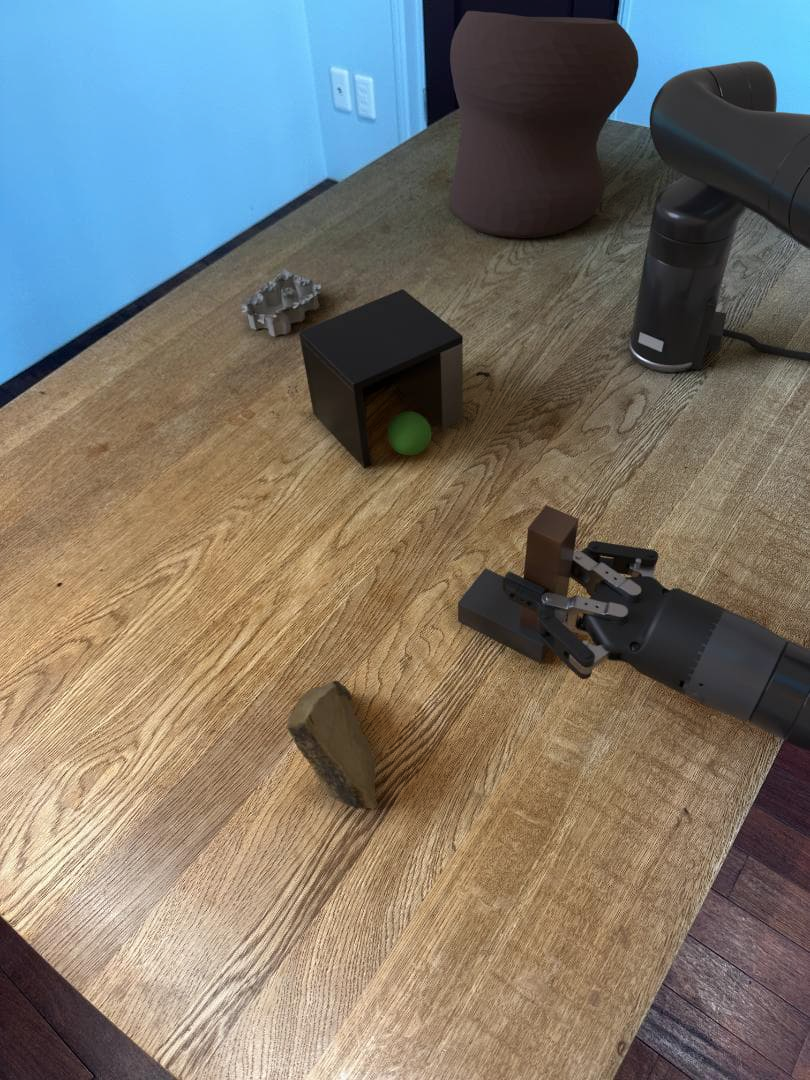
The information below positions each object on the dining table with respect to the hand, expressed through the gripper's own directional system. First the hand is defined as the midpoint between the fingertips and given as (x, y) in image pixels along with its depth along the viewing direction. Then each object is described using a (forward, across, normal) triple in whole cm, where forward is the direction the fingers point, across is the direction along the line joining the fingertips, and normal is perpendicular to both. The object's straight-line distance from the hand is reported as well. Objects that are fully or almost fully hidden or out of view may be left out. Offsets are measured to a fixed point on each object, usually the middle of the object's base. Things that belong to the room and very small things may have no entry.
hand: (518, 565), depth 71 cm
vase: (+39, -75, +9) cm, 85 cm away
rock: (+6, +19, +9) cm, 22 cm away
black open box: (+28, -19, +9) cm, 35 cm away
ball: (+22, -15, +6) cm, 28 cm away
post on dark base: (0, 0, +9) cm, 9 cm away
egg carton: (+54, -29, +9) cm, 62 cm away
